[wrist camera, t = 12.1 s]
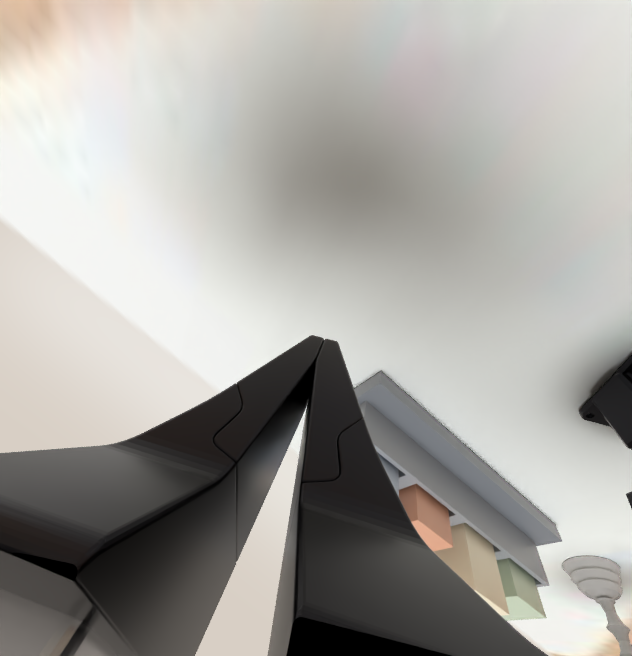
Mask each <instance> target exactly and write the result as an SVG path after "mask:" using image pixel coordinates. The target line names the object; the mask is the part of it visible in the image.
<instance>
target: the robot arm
mask: <svg viewBox="0 0 632 656" xmlns="http://www.w3.org/2000/svg"><path fill="white" fill-rule="evenodd" d="M307 403H308V404H307ZM306 406H307V410H306V415H305V421H304V428H303V434H302V440H301V447H300V453H299V460H298V466H297V472H296V479H295V485H294V492H293V498H292V504H291V510H290V517H289V524H288V530H287V536H286V542H285V549H284V556H283V562H282V569H281V574H280V581H279V587H278V594H277V600H276V606H275V612H274V619H273V625H272V632H271V638H270V644H269V651H268V656H548V655H547V654H545V653H544V652H542V651H541V650H540V649H538V648H537V647H536V646H534V645H533V644H531V643H530V642H529V641H528V640H527V639H526V638H525V637H524V636H522V635H521V634H520V633H519V632H518V631H517V630H515V629H514V628H513V627H512V626H511V625H510V624H509V623H508V622H507V621H506V620H505V619H504V618H503V617H502V616H501V615H500V614H499V613H497V612H496V611H495V610H494V609H493V608H492V607H491V606H490V605H489V604H488V603H487V602H486V601H485V600H484V599H483V598H482V597H481V596H480V595H478V594H477V593H476V592H475V591H474V590H473V589H472V588H471V587H470V586H469V585H468V584H467V583H466V582H465V581H464V580H463V579H462V578H461V577H459V576H458V575H457V574H456V573H455V572H454V571H453V570H452V569H451V568H450V567H449V566H448V565H447V564H446V563H445V562H444V561H443V560H441V559H440V558H439V557H438V556H437V555H436V554H435V553H434V552H433V551H432V550H431V549H430V548H429V547H428V545H427V544H426V543H425V542H424V541H423V539H422V538H421V536H420V535H419V534H418V532H417V530H416V529H415V527H414V526H413V524H412V522H411V520H410V518H409V516H408V514H407V512H406V510H405V508H404V506H403V504H402V502H401V500H400V498H399V496H398V494H397V492H396V490H395V488H394V486H393V484H392V482H391V480H390V478H389V476H388V474H387V472H386V470H385V468H384V466H383V464H382V462H381V460H380V457H379V455H378V453H377V451H376V449H375V446H374V444H373V441H372V439H371V436H370V434H369V431H368V428H367V425H366V422H365V420H364V417H363V414H362V411H361V408H360V405H359V402H358V399H357V396H356V393H355V390H354V388H353V385H352V382H351V379H350V376H349V373H348V370H347V367H346V364H345V361H344V358H343V355H342V353H341V350H340V347H339V344H338V342H337V341H333V340H329V339H325V340H324V339H323V338H321V337H318V336H314V335H311V336H309V337H308V338H306V339H304V340H303V341H301V342H300V343H298V344H297V345H295V346H293V347H292V348H290V349H289V350H287V351H286V352H284V353H282V354H281V355H279V356H278V357H276V358H275V359H273V360H271V361H270V362H268V363H267V364H265V365H264V366H262V367H260V368H259V369H257V370H256V371H254V372H253V373H251V374H249V375H248V376H246V377H245V378H243V379H242V380H240V381H238V382H237V384H234V385H232V386H230V387H229V388H227V389H226V390H224V391H222V392H221V393H219V394H217V395H216V396H214V397H212V398H211V399H209V400H207V401H205V402H203V403H201V404H200V405H198V406H196V407H194V408H192V409H190V410H188V411H186V412H184V413H182V414H180V415H178V416H176V417H174V418H172V419H170V420H168V421H166V422H164V423H162V424H160V425H158V426H156V427H154V428H152V429H150V430H148V431H146V432H144V433H142V434H140V435H137V436H135V437H133V438H130V439H128V440H125V441H122V442H118V443H115V444H109V445H103V446H91V447H78V448H64V449H51V450H37V451H25V452H11V453H0V656H195V654H196V652H197V649H198V647H199V645H200V643H201V641H202V638H203V636H204V634H205V631H206V630H207V627H208V625H209V623H210V620H211V618H212V616H213V614H214V612H215V610H216V607H217V605H218V603H219V601H220V598H221V596H222V594H223V592H224V589H225V587H226V585H227V583H228V581H229V578H230V576H231V574H232V572H233V570H234V567H235V565H236V561H237V560H238V558H239V556H240V554H241V551H242V549H243V547H244V545H245V543H246V540H247V538H248V536H249V534H250V531H251V529H252V527H253V525H254V522H255V520H256V518H257V516H258V513H259V511H260V509H261V507H262V505H263V503H264V500H265V498H266V496H267V493H268V491H269V489H270V487H271V485H272V482H273V480H274V478H275V476H276V474H277V471H278V469H279V467H280V465H281V462H282V460H283V458H284V456H285V453H286V451H287V449H288V447H289V445H290V442H291V440H292V438H293V436H294V434H295V431H296V429H297V427H298V425H299V422H300V420H301V418H302V416H303V413H304V411H305V409H306ZM589 413H590V414H589ZM579 414H580V415H581V417H582V418H583V419H584V420H587V421H591V422H595V423H599V424H603V425H606V426H610V427H612V428H613V430H614V431H615V432H616V433H617V435H618V436H619V437H620V439H621V440H622V441H623V443H624V444H625V445H626V447H628V448H629V449H631V450H632V356H631V357H630V358H629V359H628V360H627V361H626V362H625V363H624V364H623V365H622V366H621V367H620V368H619V369H618V370H617V371H616V372H615V374H614V375H613V376H612V377H611V378H610V379H609V380H608V381H607V382H606V383H605V384H604V385H603V386H602V387H601V388H600V389H599V391H598V392H597V393H596V394H595V395H594V396H593V397H592V398H591V399H590V400H589V401H588V402H587V403H586V404H585V405H584V406H583V407H582V409H581V410H580V411H579ZM626 496H627V498H628V501H629V503H630V506H631V508H632V492H629V493H627V494H626Z"/></svg>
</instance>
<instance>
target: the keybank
mask: <svg viewBox="0 0 632 656" xmlns="http://www.w3.org/2000/svg"><path fill="white" fill-rule="evenodd" d="M354 390H355V393H356V396H357V399H358V402H359V405H360V408H361V411H362V414H363V417H364V420H365V422H366V425H367V428H368V431H369V434H370V436H371V439H372V441H373V444H374V446H375V449H376V451H377V452H378V453H379V454H380V455H382V456H383V457H384V458H385V459H387V460H388V461H389V462H390V463H392V464H393V465H394V466H395V467H397V468H398V469H399V490H400V489H403V488H405V487H408V486H411V485H414V484H416V483H417V484H418V485H419V486H420V487H422V488H423V489H424V490H425V491H427V492H428V493H429V494H430V495H432V496H433V497H434V498H435V499H437V500H438V501H439V502H440V503H442V504H443V505H444V506H445V507H447V508H448V512H449V519H450V526H454V525H458V524H462V523H467V524H468V525H469V526H470V527H472V528H473V529H474V530H475V531H477V532H478V533H479V534H480V535H482V536H483V537H484V538H485V539H487V540H488V541H489V542H490V543H492V544H493V548H494V552H495V556H496V560H501V559H506V558H511V559H512V560H513V561H514V562H516V563H517V564H518V565H519V566H521V567H522V568H523V569H524V570H526V571H527V572H528V573H529V574H531V575H532V576H533V577H534V580H535V584H536V587H541V586H549V582H548V580H547V577H546V574H545V571H544V568H543V565H542V562H541V559H540V557H539V554H538V551H537V548H536V546H539V545H544V544H550V543H555V542H561V541H562V540H561V537H560V535H559V532H558V530H557V528H556V525H555V524H554V523H553V522H552V521H551V520H549V519H548V518H547V517H546V516H545V515H544V514H543V513H542V512H540V511H539V510H538V509H537V508H536V507H535V506H534V505H532V504H531V503H530V502H529V501H528V500H527V499H526V498H525V497H523V496H522V495H521V494H520V493H519V492H518V491H517V490H515V489H514V488H513V487H512V486H511V485H510V484H509V483H507V482H506V481H505V480H504V479H503V478H502V477H501V476H500V475H498V474H497V473H496V472H495V471H494V470H493V469H492V468H490V467H489V466H488V465H487V464H486V463H485V462H484V461H482V460H481V459H480V458H479V457H478V456H477V455H476V454H475V453H473V452H472V451H471V450H470V449H469V448H468V447H467V446H465V445H464V444H463V443H462V442H461V441H460V440H459V439H458V438H456V437H455V436H454V435H453V434H452V433H451V432H450V431H448V430H447V429H446V428H445V427H444V426H443V425H442V424H440V423H439V422H438V421H437V420H436V419H435V418H434V417H433V416H431V415H430V414H429V413H428V412H427V411H426V410H425V409H423V408H422V407H421V406H420V405H419V404H418V403H417V402H416V401H414V400H413V399H412V398H411V397H410V396H409V395H408V394H406V393H405V392H404V391H403V390H402V389H401V388H400V387H398V386H397V385H396V384H395V383H394V382H393V381H392V380H391V379H389V378H388V377H387V376H386V375H385V374H384V373H383V372H381V371H380V372H379V373H377V374H376V375H374V376H373V377H371V378H370V379H368V380H367V381H365V382H363V383H362V384H360V385H359V386H357V387H356V388H354Z"/></svg>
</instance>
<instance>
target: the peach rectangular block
mask: <svg viewBox="0 0 632 656" xmlns="http://www.w3.org/2000/svg"><path fill="white" fill-rule="evenodd" d="M399 498H400V500H401V502H402V504H403V506H404V508H405V510H406V512H407V514H408V516H409V518H410V520H411V522H412V524H413V526H414V527H415V529H416V530H417V532H418V534H419V535H420V536H421V538H422V539H423V541H424V542H425V543H426V544H427V545H428V547H429V548H430V549H431V550H432V551H437V550H442V549H447V548H451V547H453V540H452V533H451V526H450V519H449V512H448V508H447V507H445V506H444V505H443V504H442V503H440V502H439V501H438V500H437V499H435V498H434V497H433V496H432V495H430V494H429V493H428V492H427V491H425V490H424V489H423V488H422V487H420V486H419V485H418V484H417V483H416V484H414V485H411V486H408V487H405V488H403V489H400V490H399Z"/></svg>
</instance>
